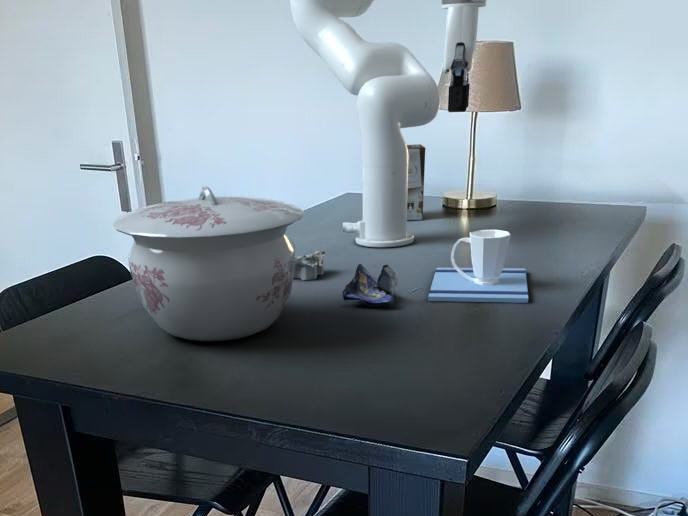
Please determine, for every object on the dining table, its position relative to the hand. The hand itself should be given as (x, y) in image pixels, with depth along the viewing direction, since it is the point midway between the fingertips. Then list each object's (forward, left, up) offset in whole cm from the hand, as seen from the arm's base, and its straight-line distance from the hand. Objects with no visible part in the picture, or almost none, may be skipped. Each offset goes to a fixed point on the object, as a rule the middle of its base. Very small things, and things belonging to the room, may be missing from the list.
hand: (458, 109), depth 144 cm
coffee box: (-13, +44, -26) cm, 53 cm away
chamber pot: (-32, -48, -26) cm, 64 cm away
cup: (+6, -21, -26) cm, 34 cm away
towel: (+6, -21, -26) cm, 34 cm away
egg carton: (-28, -15, -26) cm, 42 cm away
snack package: (-11, -31, -26) cm, 42 cm away
